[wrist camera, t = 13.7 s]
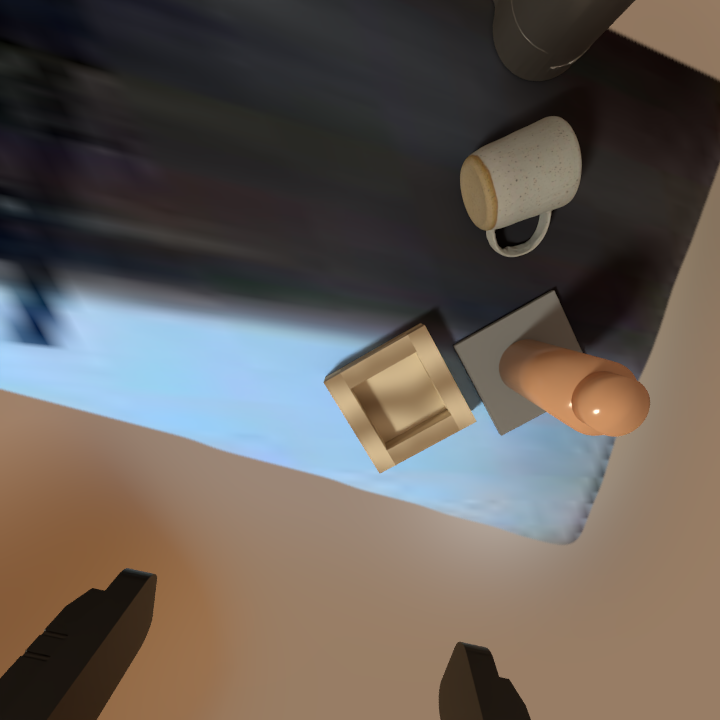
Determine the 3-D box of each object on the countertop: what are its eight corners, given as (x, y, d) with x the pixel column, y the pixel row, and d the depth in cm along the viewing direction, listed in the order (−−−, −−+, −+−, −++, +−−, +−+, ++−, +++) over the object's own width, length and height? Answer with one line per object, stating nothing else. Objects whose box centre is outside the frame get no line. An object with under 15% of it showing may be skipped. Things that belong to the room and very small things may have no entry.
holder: (325, 376, 39) (323, 382, 37) (420, 323, 38) (424, 325, 36) (377, 462, 41) (379, 473, 39) (468, 413, 40) (476, 421, 38)
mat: (452, 345, 39) (454, 346, 38) (551, 290, 38) (554, 290, 37) (499, 433, 41) (501, 435, 40) (593, 383, 40) (596, 384, 39)
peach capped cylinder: (493, 387, 39) (566, 439, 25) (506, 334, 38) (591, 359, 24) (554, 397, 39) (659, 454, 26) (569, 345, 38) (688, 376, 25)
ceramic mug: (448, 170, 35) (475, 139, 28) (524, 137, 35) (572, 96, 27) (481, 270, 37) (514, 266, 30) (553, 239, 37) (606, 227, 30)
